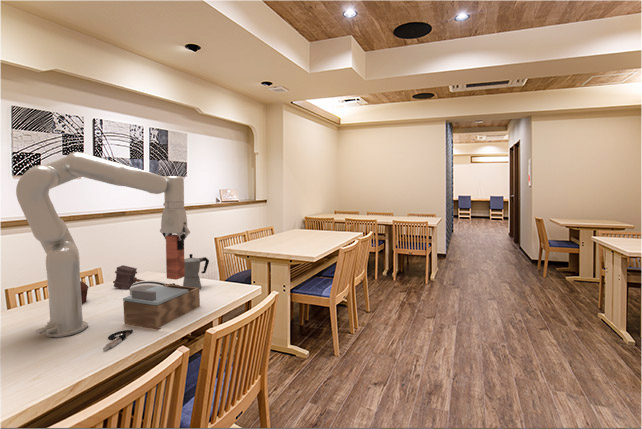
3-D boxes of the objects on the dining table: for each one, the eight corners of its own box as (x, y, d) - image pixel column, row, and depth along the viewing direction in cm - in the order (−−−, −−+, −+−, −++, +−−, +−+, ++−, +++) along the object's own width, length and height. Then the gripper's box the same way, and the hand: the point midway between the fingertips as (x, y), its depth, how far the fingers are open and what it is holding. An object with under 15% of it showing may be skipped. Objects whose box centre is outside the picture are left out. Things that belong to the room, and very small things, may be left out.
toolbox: (158, 330, 130) (157, 306, 130) (124, 324, 136) (123, 301, 135) (199, 308, 153) (199, 287, 152) (169, 304, 158) (169, 284, 157)
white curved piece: (170, 295, 171) (167, 278, 166) (167, 301, 166) (164, 284, 162) (133, 296, 168) (130, 279, 164) (130, 303, 164) (126, 285, 160)
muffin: (94, 302, 160) (92, 280, 159) (65, 309, 151) (64, 286, 150) (82, 297, 167) (81, 276, 166) (54, 304, 158) (52, 282, 157)
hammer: (120, 282, 187) (123, 264, 186) (179, 296, 185) (182, 278, 184) (111, 286, 180) (114, 267, 179) (173, 300, 178) (176, 281, 177)
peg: (176, 279, 147) (175, 236, 146) (166, 278, 149) (165, 235, 147) (184, 276, 152) (183, 235, 150) (175, 275, 154) (174, 234, 152)
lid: (157, 305, 130) (156, 294, 129) (123, 300, 135) (122, 290, 134) (188, 291, 146) (188, 282, 145) (157, 288, 151) (156, 278, 150)
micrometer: (116, 332, 129) (116, 325, 129) (135, 333, 129) (135, 326, 129) (86, 352, 114) (86, 344, 114) (108, 352, 114) (107, 345, 114)
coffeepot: (179, 293, 174) (178, 257, 172) (176, 288, 182) (175, 253, 180) (211, 288, 182) (211, 254, 180) (207, 284, 190) (206, 250, 188)
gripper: (151, 205, 147) (152, 249, 148) (185, 207, 142) (185, 252, 143) (164, 204, 154) (165, 246, 156) (197, 206, 149) (197, 249, 150)
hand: (175, 248), depth 149 cm, fingers closed on peg, 4 cm apart
